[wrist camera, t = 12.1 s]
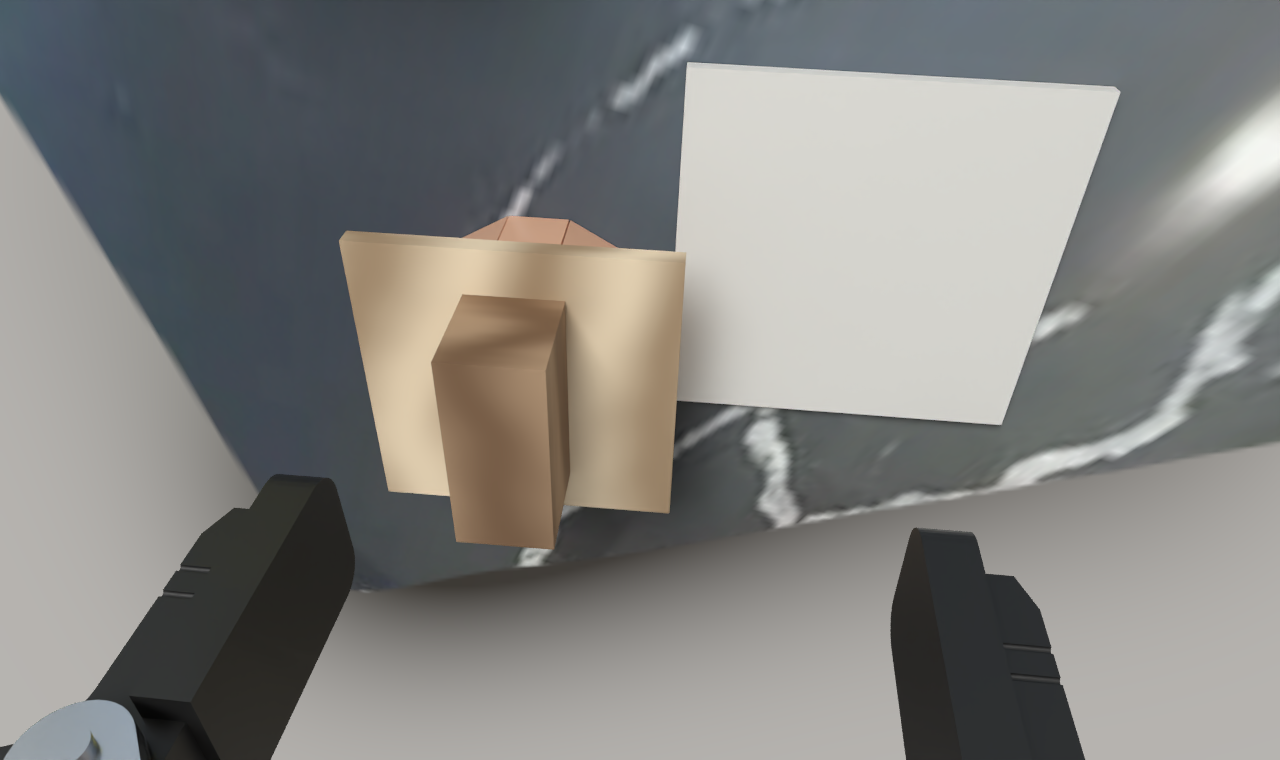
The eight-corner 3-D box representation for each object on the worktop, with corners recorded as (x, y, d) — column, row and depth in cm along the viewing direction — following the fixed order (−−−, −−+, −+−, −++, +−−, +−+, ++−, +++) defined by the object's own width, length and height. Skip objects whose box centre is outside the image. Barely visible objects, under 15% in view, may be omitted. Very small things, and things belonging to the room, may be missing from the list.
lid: (686, 252, 33) (679, 331, 29) (670, 500, 41) (663, 591, 37) (346, 230, 34) (291, 304, 30) (394, 479, 42) (356, 565, 38)
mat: (1115, 86, 33) (1120, 92, 33) (998, 417, 43) (1001, 425, 43) (687, 62, 34) (686, 67, 34) (667, 392, 44) (666, 399, 43)
